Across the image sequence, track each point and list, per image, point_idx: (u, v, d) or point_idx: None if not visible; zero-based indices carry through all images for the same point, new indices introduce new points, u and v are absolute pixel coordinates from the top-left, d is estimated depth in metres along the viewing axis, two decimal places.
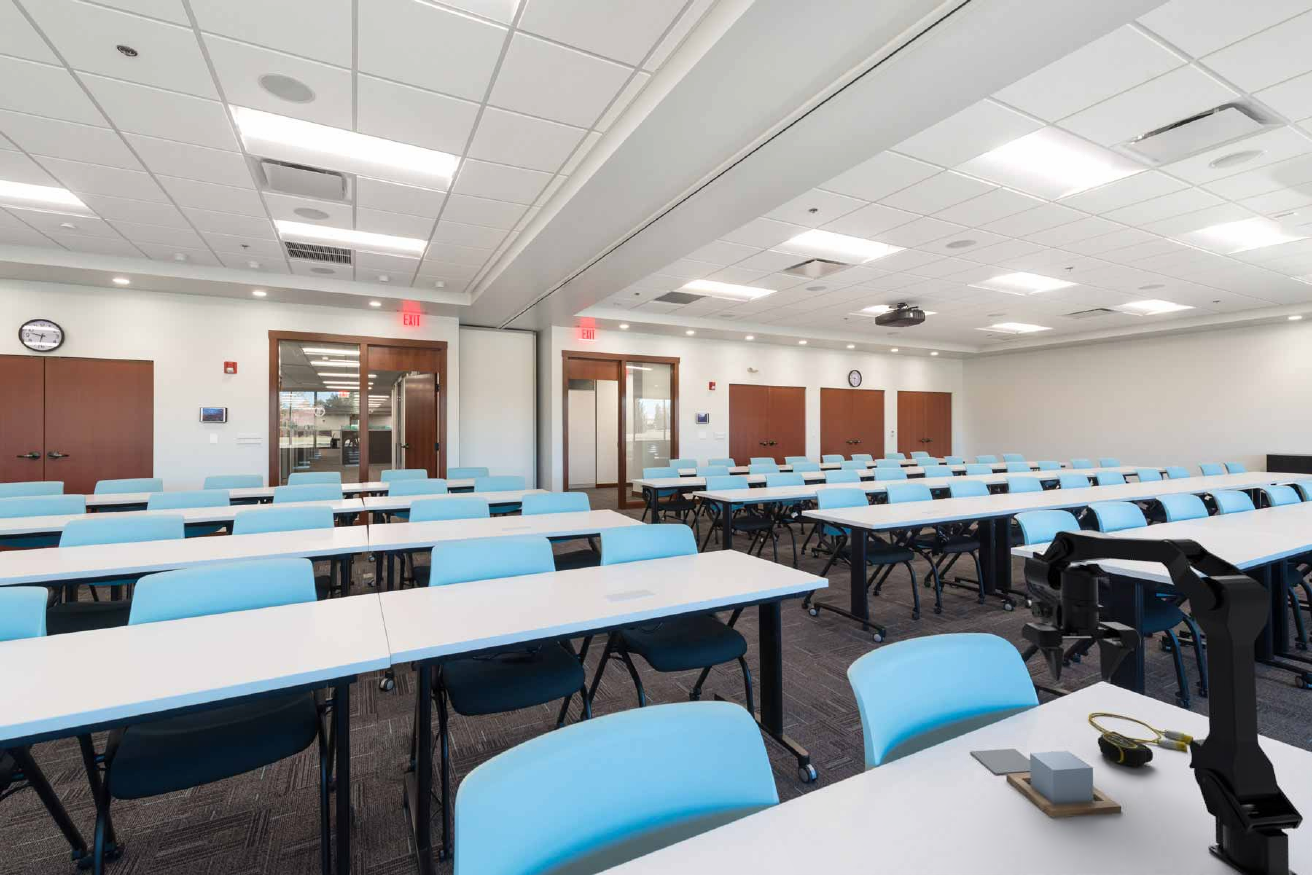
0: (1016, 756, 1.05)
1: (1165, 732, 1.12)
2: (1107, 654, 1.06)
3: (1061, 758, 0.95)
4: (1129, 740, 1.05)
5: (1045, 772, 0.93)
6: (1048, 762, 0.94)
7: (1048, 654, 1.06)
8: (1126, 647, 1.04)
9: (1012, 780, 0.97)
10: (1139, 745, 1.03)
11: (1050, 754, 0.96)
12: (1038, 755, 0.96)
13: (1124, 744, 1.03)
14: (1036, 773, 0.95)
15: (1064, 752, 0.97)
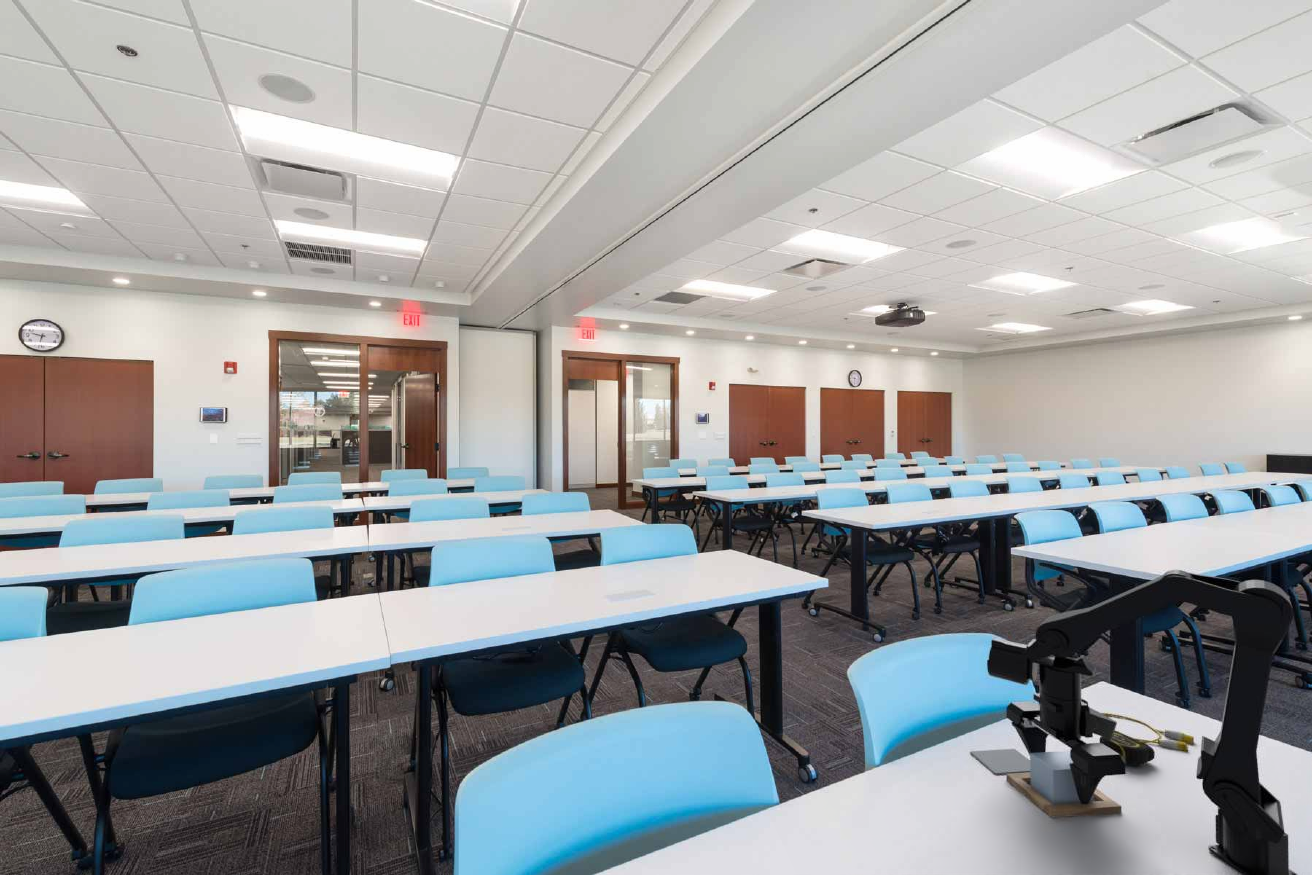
0: (1016, 756, 1.05)
1: (1165, 732, 1.12)
2: None
3: (1061, 758, 0.95)
4: (1131, 739, 1.05)
5: (1045, 772, 0.93)
6: (1048, 762, 0.94)
7: None
8: (1079, 768, 0.87)
9: (1012, 780, 0.97)
10: (1141, 744, 1.03)
11: (1050, 754, 0.96)
12: (1038, 755, 0.96)
13: (1126, 743, 1.04)
14: (1036, 773, 0.95)
15: (1064, 752, 0.97)
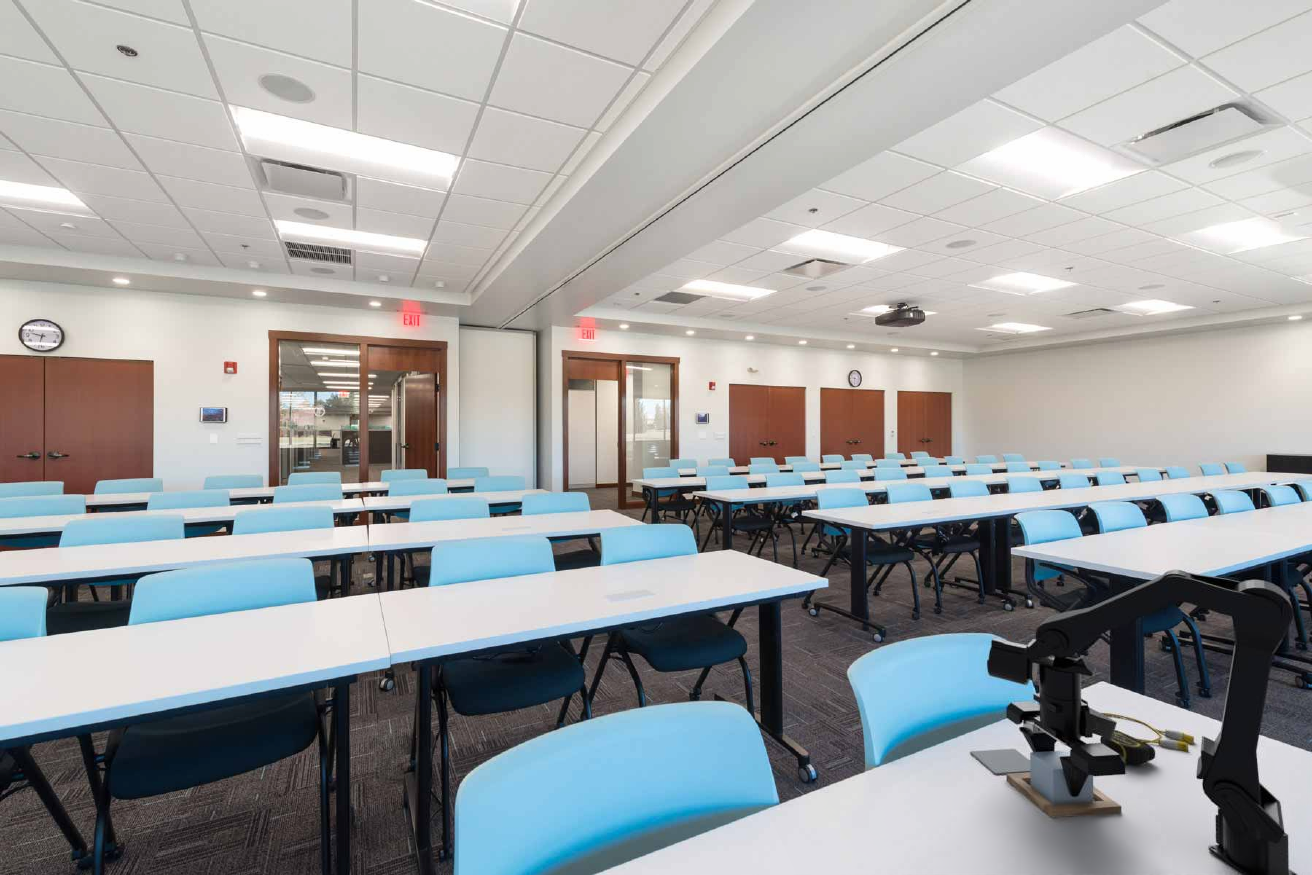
0: (1016, 756, 1.05)
1: (1166, 732, 1.12)
2: None
3: None
4: (1131, 738, 1.05)
5: (1045, 771, 0.93)
6: (1048, 761, 0.94)
7: None
8: (1069, 761, 0.89)
9: (1012, 780, 0.97)
10: (1141, 743, 1.04)
11: (1050, 753, 0.96)
12: (1038, 754, 0.96)
13: (1126, 742, 1.04)
14: (1036, 772, 0.95)
15: (1064, 751, 0.97)
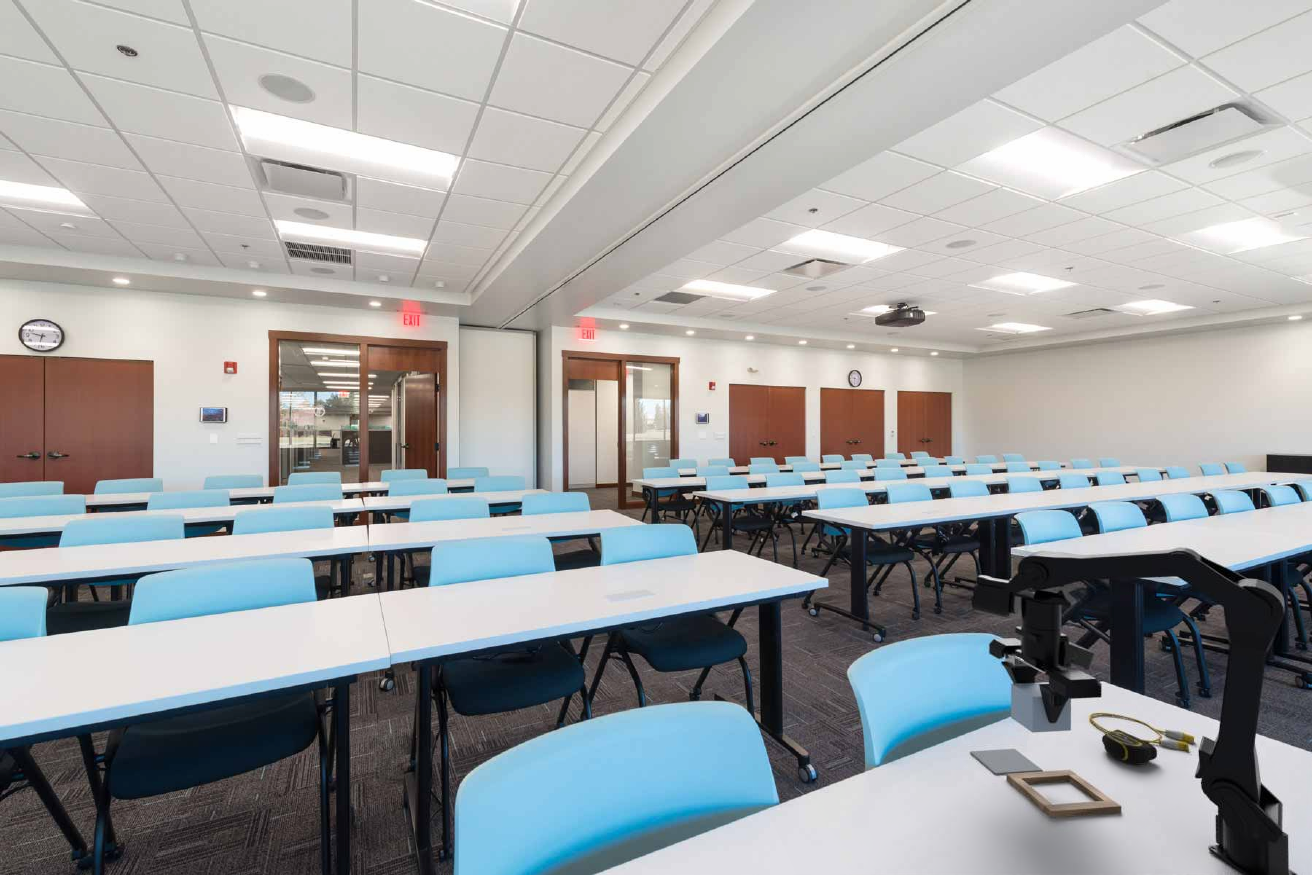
0: (1016, 756, 1.05)
1: (1166, 732, 1.12)
2: None
3: None
4: (1133, 738, 1.05)
5: (1025, 700, 0.96)
6: (1028, 691, 0.97)
7: None
8: (1048, 688, 0.92)
9: (1012, 780, 0.97)
10: (1143, 743, 1.04)
11: (1030, 684, 0.99)
12: (1019, 685, 0.99)
13: (1128, 741, 1.04)
14: (1016, 702, 0.98)
15: (1044, 683, 1.00)
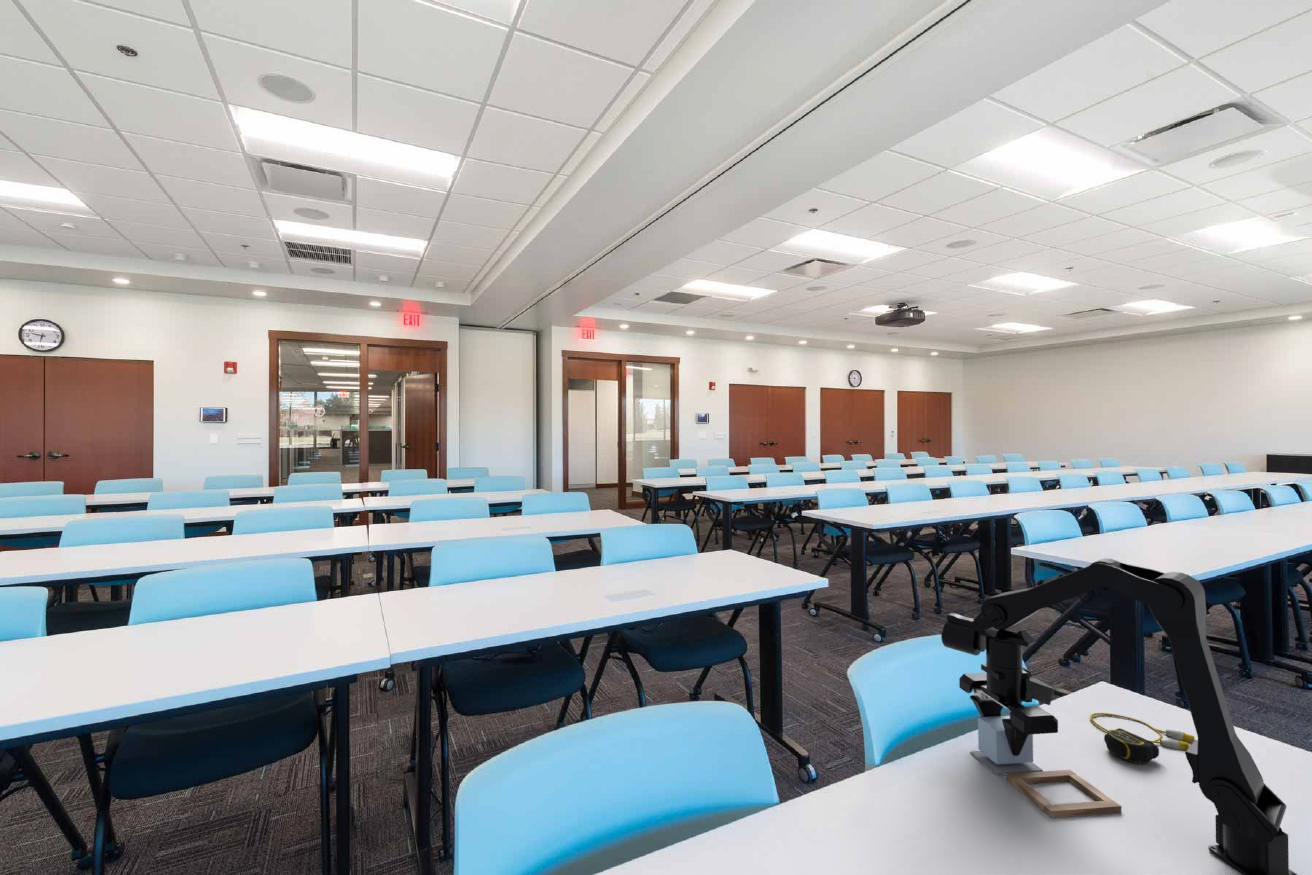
0: None
1: (1166, 732, 1.12)
2: None
3: None
4: (1135, 737, 1.06)
5: (990, 733, 1.03)
6: (993, 724, 1.03)
7: None
8: (1010, 723, 0.99)
9: (1012, 780, 0.97)
10: (1145, 741, 1.04)
11: (996, 718, 1.06)
12: (985, 719, 1.05)
13: (1130, 740, 1.05)
14: (983, 735, 1.05)
15: (1009, 716, 1.06)
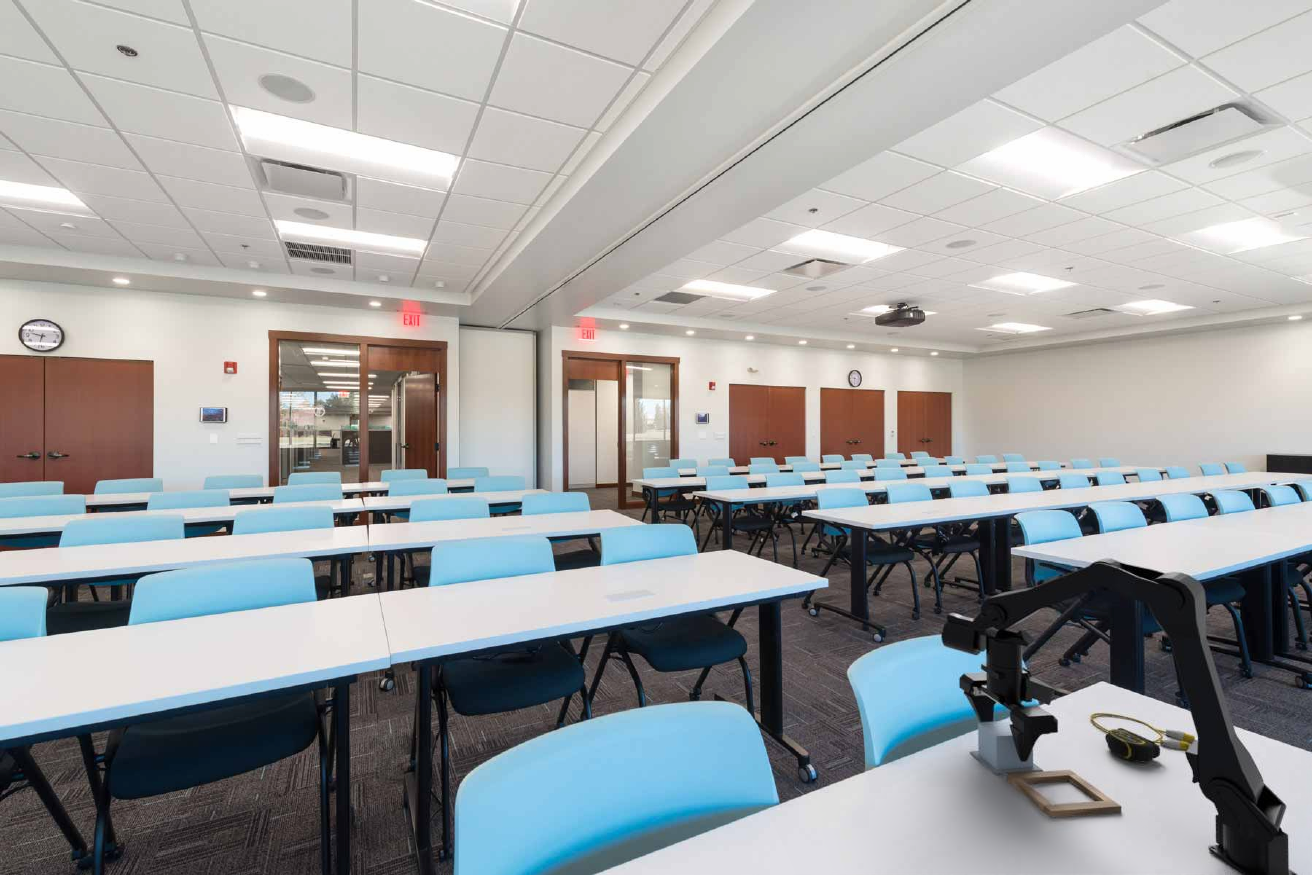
0: None
1: (1167, 732, 1.13)
2: None
3: (1005, 726, 1.05)
4: (1136, 736, 1.06)
5: (990, 738, 1.03)
6: (993, 730, 1.03)
7: None
8: (1017, 728, 0.97)
9: (1012, 780, 0.97)
10: (1146, 741, 1.04)
11: (996, 723, 1.06)
12: (985, 724, 1.06)
13: (1131, 740, 1.05)
14: (983, 740, 1.05)
15: (1009, 721, 1.06)
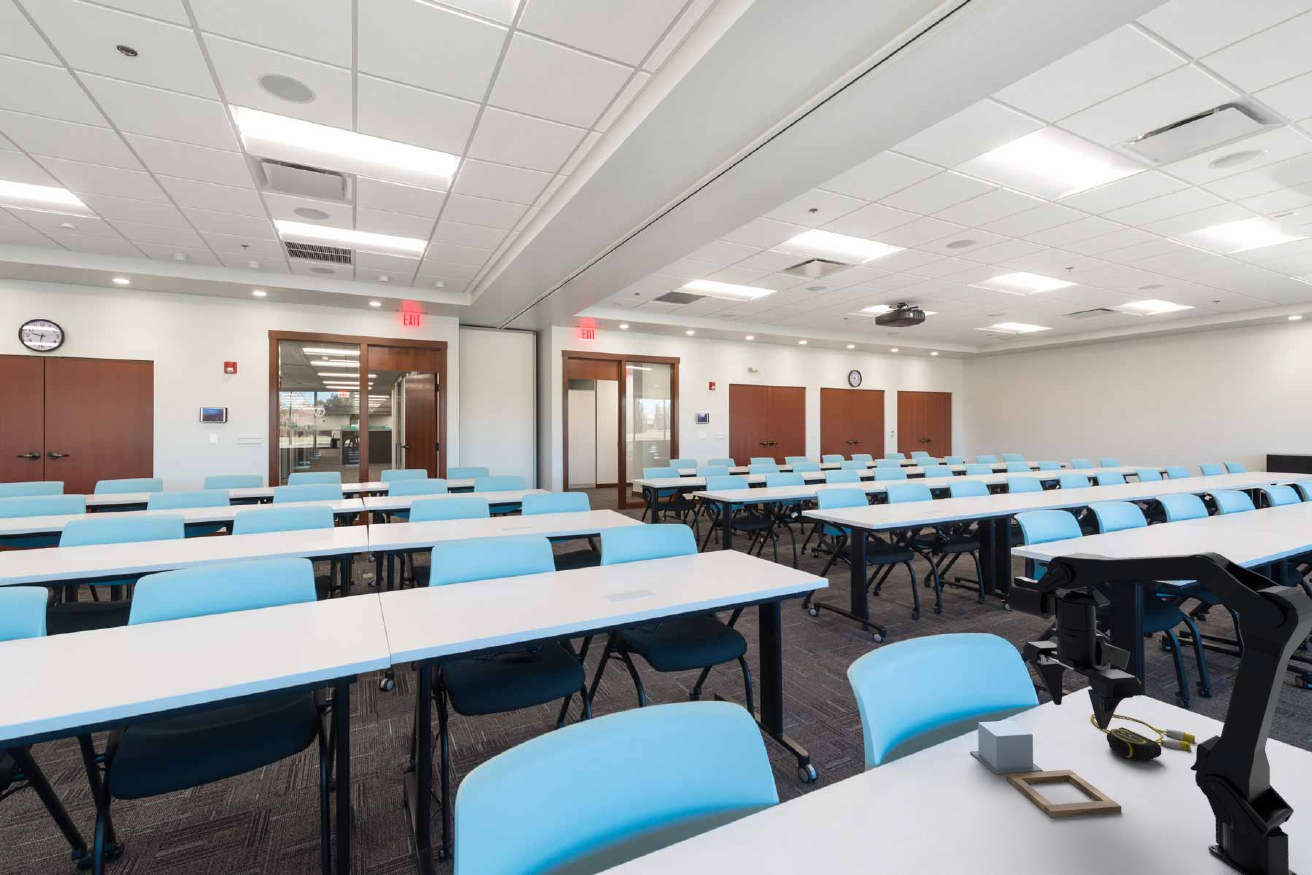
0: None
1: (1167, 731, 1.13)
2: None
3: (1005, 726, 1.05)
4: (1138, 736, 1.06)
5: (990, 738, 1.03)
6: (993, 730, 1.03)
7: None
8: (1098, 693, 0.91)
9: (1012, 780, 0.97)
10: (1148, 740, 1.05)
11: (996, 723, 1.06)
12: (985, 724, 1.06)
13: (1133, 739, 1.05)
14: (983, 740, 1.05)
15: (1009, 721, 1.06)
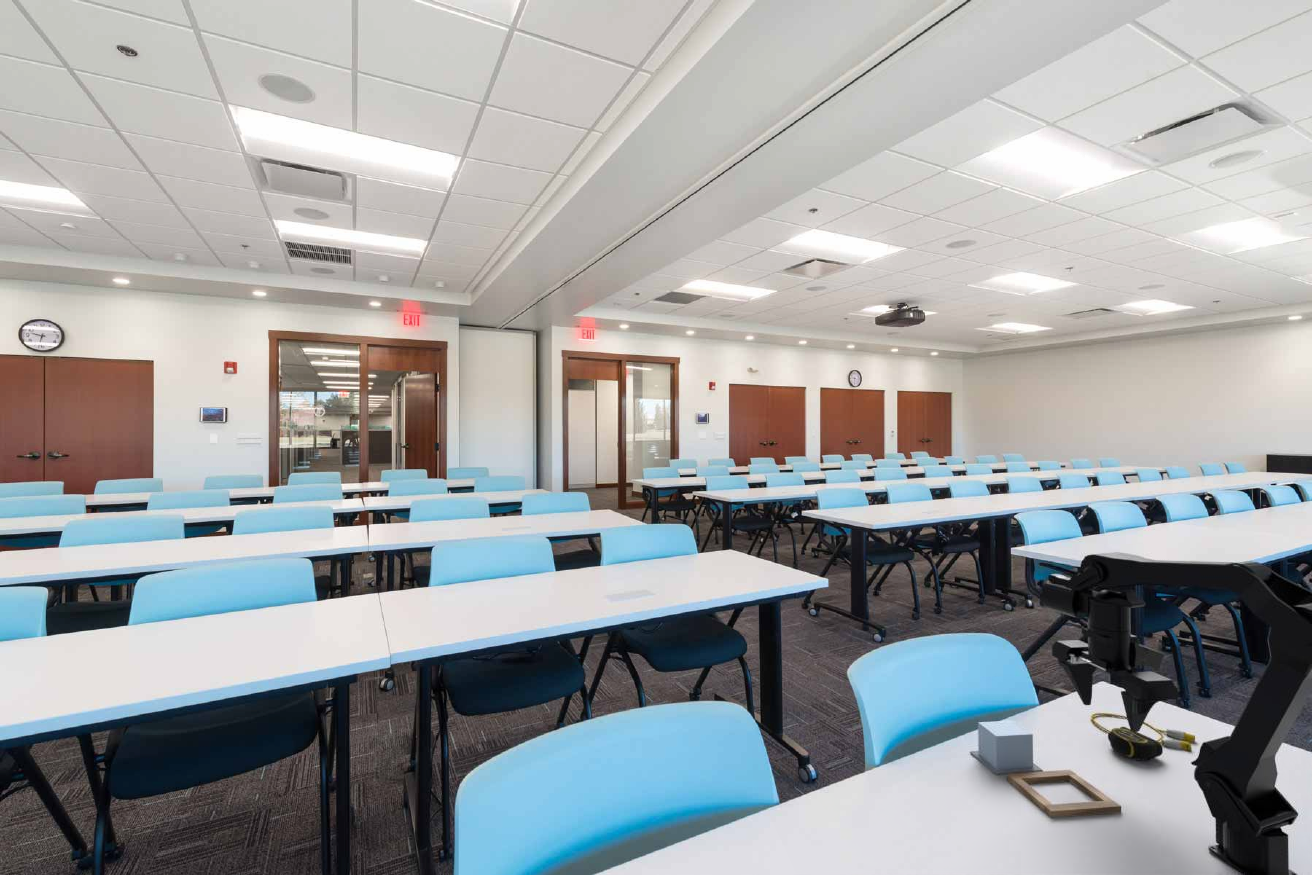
0: None
1: (1167, 731, 1.13)
2: None
3: (1005, 726, 1.05)
4: (1139, 735, 1.06)
5: (990, 738, 1.03)
6: (993, 730, 1.03)
7: None
8: (1131, 695, 0.89)
9: (1012, 780, 0.97)
10: (1149, 740, 1.05)
11: (996, 723, 1.06)
12: (985, 724, 1.06)
13: (1134, 738, 1.05)
14: (983, 740, 1.05)
15: (1009, 721, 1.06)
